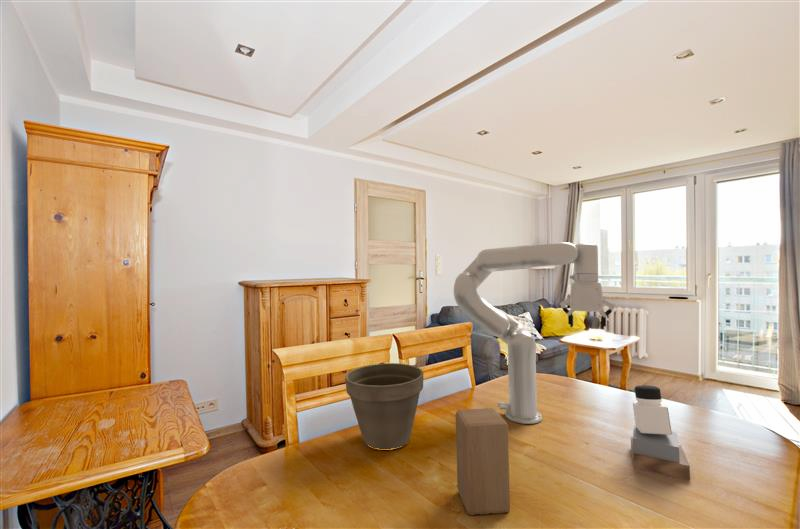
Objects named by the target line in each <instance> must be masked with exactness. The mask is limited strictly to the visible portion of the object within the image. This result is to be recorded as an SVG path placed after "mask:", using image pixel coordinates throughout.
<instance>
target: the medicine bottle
mask: <svg viewBox="0 0 800 529" xmlns="http://www.w3.org/2000/svg"><path fill="white" fill-rule="evenodd" d="M661 392H662V391H661V388H659V387H658V386H655V385H648V384H647V385H645V384H640V385H635V387H634V395H635V401H634V400H633V401H632V410H633V416H634V425H636V428H637V429H638V430H639V431H640V432H641V433H648V434H663V435H672V432H673V431H672V427H671V420H670V414H669V408H668V406H666V404H665V405H664V404H663V403H662V401H663V400H662V393H661Z"/></svg>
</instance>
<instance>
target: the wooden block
mask: <svg viewBox="0 0 800 529" xmlns="http://www.w3.org/2000/svg"><path fill="white" fill-rule="evenodd" d="M455 436H456V437H455V441H456V442H455V444H456V445H455V447H456V475H457V476H456V479H457V480H456V481H457V482H456V483H457V486H456V487H457V491H458V493H459V496H460V498H461V501H462V503H463V506H464V509H465V511H466V513H467V515H469V514H471V515H470V516H473V515H472V514H480V515H489V513H492V514H501V513H502V514H503V513H508V512H510V510H511V490H510V489H511V488H510V486H511V485H510V461H509V460H510V459H509V458H510V457H509V456H510V455H509V453H510V452H509V451H510V450H509V425H508V423H507V421H506V420H505V419H504V417H502V415H501V414H500V413H499V412H498V411H497V410H496V409H495V408H493V407H492V408H491V407H489V408H474V409H473V408H470V409H458V410H456V413H455Z"/></svg>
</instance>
